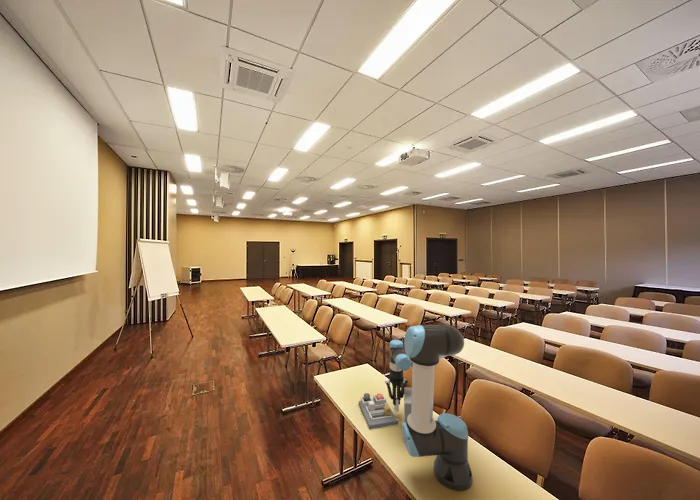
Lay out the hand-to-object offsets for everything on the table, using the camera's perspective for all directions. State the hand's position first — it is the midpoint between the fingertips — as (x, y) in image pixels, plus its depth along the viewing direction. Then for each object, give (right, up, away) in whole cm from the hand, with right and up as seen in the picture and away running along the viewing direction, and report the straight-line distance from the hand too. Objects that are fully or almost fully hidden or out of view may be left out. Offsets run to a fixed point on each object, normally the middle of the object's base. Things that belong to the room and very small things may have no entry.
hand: (396, 410), depth 148 cm
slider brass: (-6, -2, -1) cm, 6 cm away
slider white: (-14, -2, +3) cm, 14 cm away
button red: (-8, -1, +10) cm, 13 cm away
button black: (-16, +1, +9) cm, 18 cm away
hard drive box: (+5, -4, -13) cm, 15 cm away
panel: (-11, -4, +3) cm, 12 cm away
